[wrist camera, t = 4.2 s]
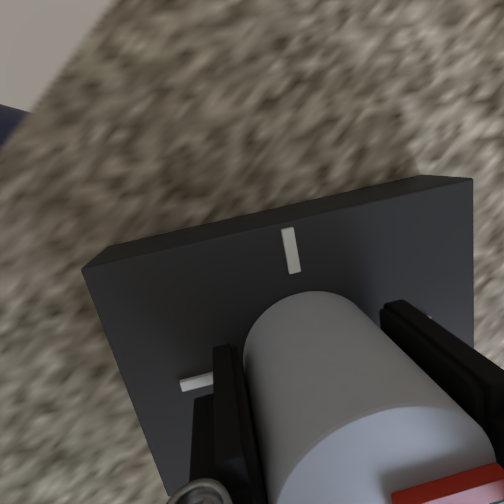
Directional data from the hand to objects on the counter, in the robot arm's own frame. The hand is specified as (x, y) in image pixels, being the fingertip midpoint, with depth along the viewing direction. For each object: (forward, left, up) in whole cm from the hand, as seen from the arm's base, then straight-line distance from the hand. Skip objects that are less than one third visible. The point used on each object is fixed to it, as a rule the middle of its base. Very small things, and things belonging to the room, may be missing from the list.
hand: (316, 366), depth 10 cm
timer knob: (0, 0, -1) cm, 1 cm away
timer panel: (0, 0, -3) cm, 3 cm away
